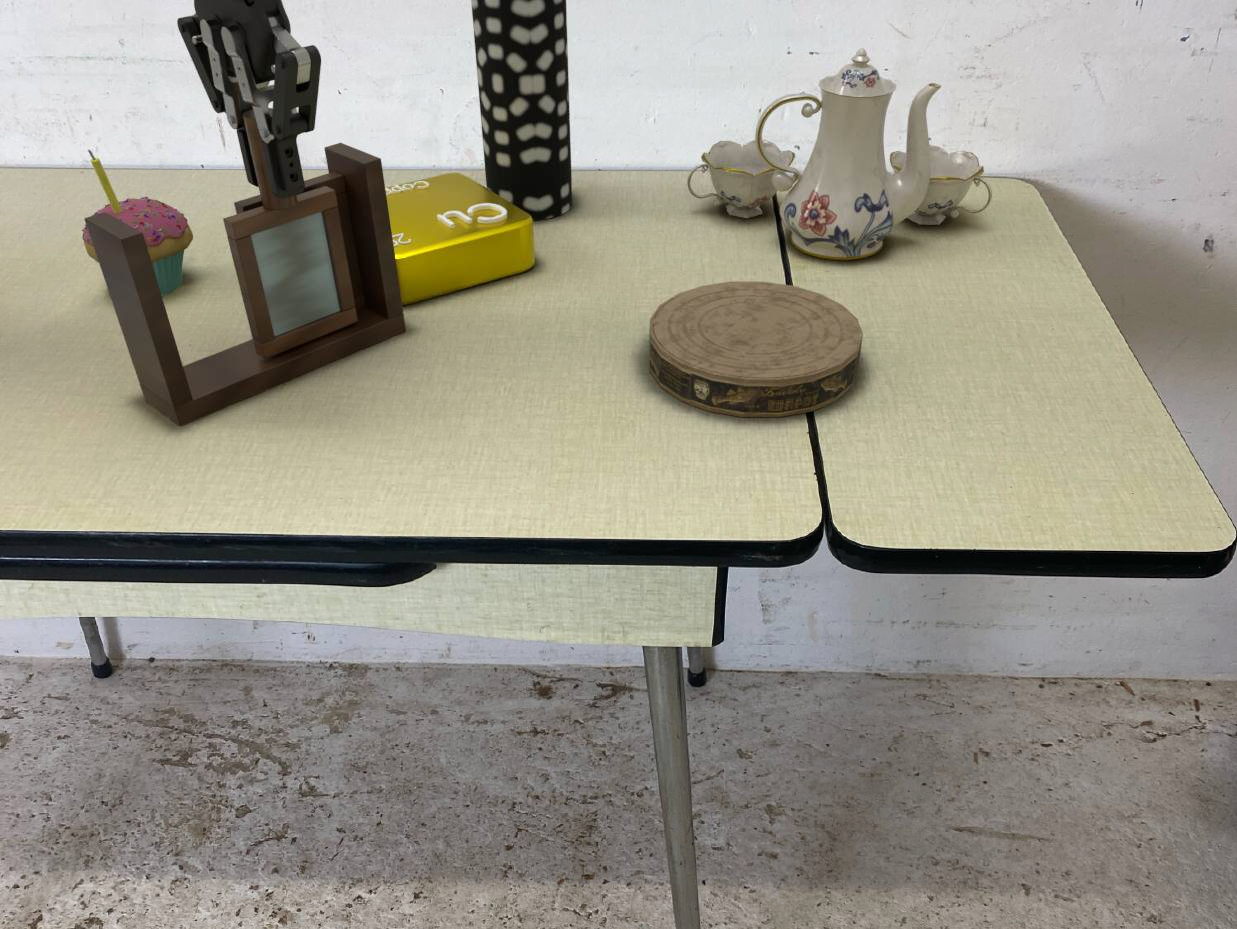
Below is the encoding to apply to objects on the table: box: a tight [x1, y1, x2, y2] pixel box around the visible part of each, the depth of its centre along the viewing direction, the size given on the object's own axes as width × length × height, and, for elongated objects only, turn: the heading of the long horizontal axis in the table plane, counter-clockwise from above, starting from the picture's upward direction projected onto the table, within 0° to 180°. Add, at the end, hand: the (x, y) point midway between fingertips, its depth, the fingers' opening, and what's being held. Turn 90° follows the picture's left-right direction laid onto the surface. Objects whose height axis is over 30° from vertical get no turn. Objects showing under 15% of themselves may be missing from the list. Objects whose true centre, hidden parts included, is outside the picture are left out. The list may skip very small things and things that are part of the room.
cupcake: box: [81, 149, 194, 297], centre depth 89 cm, size 9×8×12 cm
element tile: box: [385, 172, 536, 306], centre depth 96 cm, size 15×15×5 cm
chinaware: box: [686, 47, 993, 261], centre depth 97 cm, size 28×17×17 cm, turn 89°
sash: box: [222, 107, 358, 359], centre depth 77 cm, size 8×2×16 cm, turn 136°
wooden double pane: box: [84, 142, 407, 427], centre depth 79 cm, size 20×5×14 cm, turn 136°
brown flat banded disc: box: [648, 281, 864, 418], centre depth 82 cm, size 16×16×3 cm
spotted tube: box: [470, 0, 573, 221], centre depth 100 cm, size 8×8×20 cm
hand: (277, 187), depth 75 cm, fingers closed on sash, 2 cm apart
